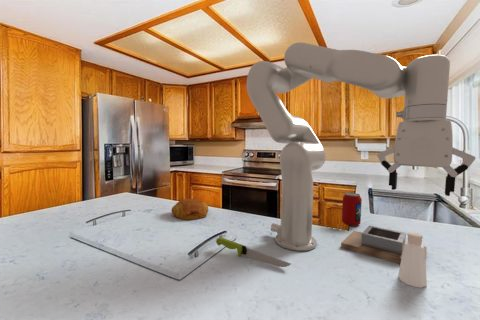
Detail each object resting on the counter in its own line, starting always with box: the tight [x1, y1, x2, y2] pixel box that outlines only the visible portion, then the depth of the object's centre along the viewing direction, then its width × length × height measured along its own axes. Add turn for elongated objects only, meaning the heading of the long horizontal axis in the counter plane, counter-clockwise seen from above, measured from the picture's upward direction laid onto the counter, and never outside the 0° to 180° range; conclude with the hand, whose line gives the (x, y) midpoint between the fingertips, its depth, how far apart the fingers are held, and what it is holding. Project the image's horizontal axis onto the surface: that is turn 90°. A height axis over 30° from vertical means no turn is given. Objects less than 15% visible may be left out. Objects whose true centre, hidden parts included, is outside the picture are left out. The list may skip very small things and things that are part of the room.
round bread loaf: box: [171, 198, 209, 221], centre depth 102 cm, size 14×16×8 cm
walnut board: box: [340, 230, 428, 265], centre depth 72 cm, size 20×14×2 cm
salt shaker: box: [397, 231, 428, 289], centre depth 55 cm, size 5×5×11 cm
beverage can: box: [341, 192, 363, 227], centre depth 95 cm, size 7×7×12 cm
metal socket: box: [361, 225, 407, 255], centre depth 71 cm, size 10×10×4 cm
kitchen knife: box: [215, 237, 292, 268], centre depth 64 cm, size 22×1×3 cm, turn 60°
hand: (419, 191), depth 54 cm, fingers open, 9 cm apart
